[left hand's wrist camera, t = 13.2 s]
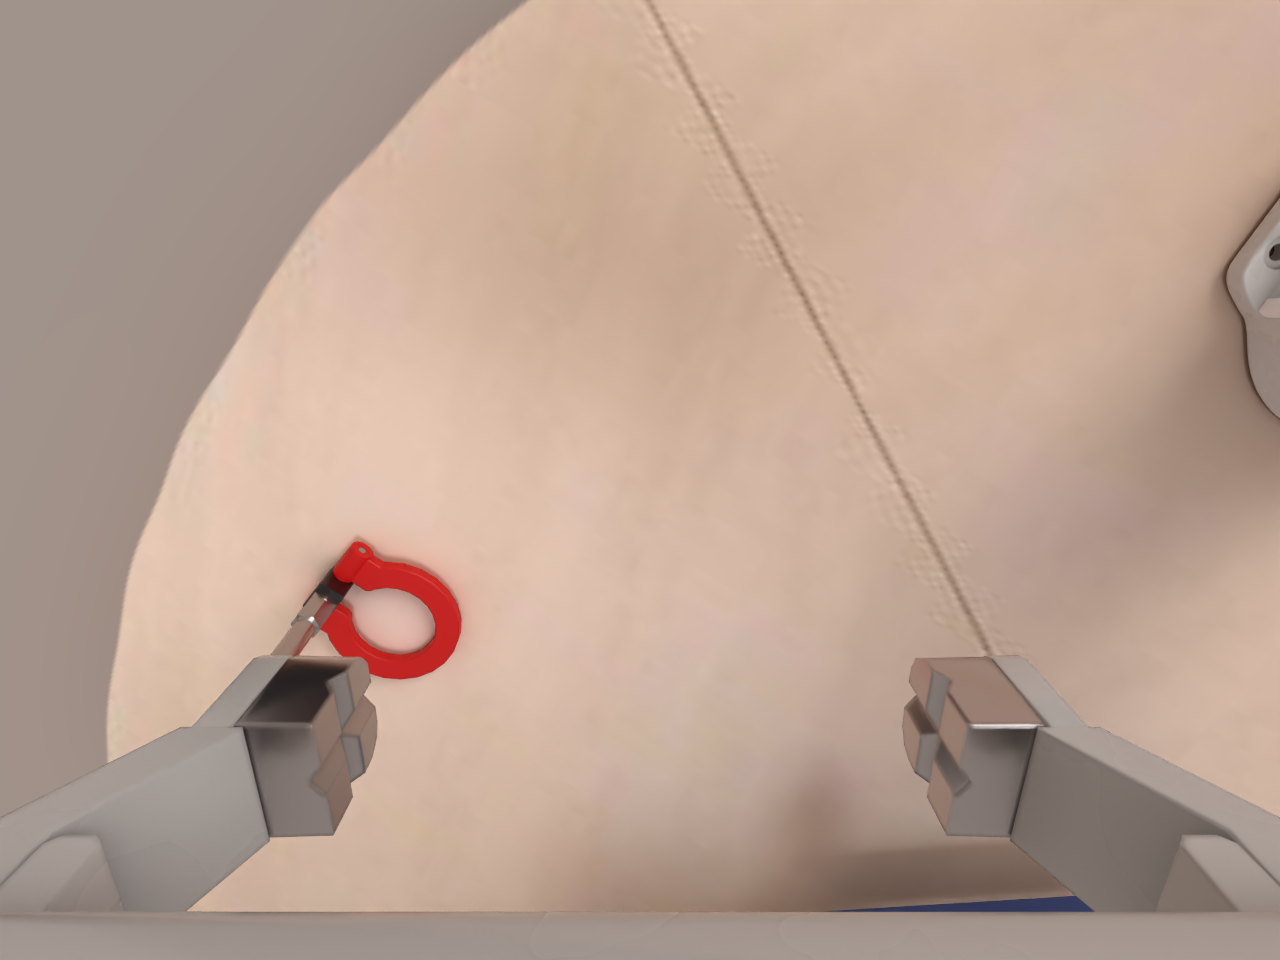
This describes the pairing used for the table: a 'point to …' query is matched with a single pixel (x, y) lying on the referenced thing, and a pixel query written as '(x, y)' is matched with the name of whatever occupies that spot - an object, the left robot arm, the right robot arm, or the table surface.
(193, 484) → the table surface
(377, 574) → the tow hook
